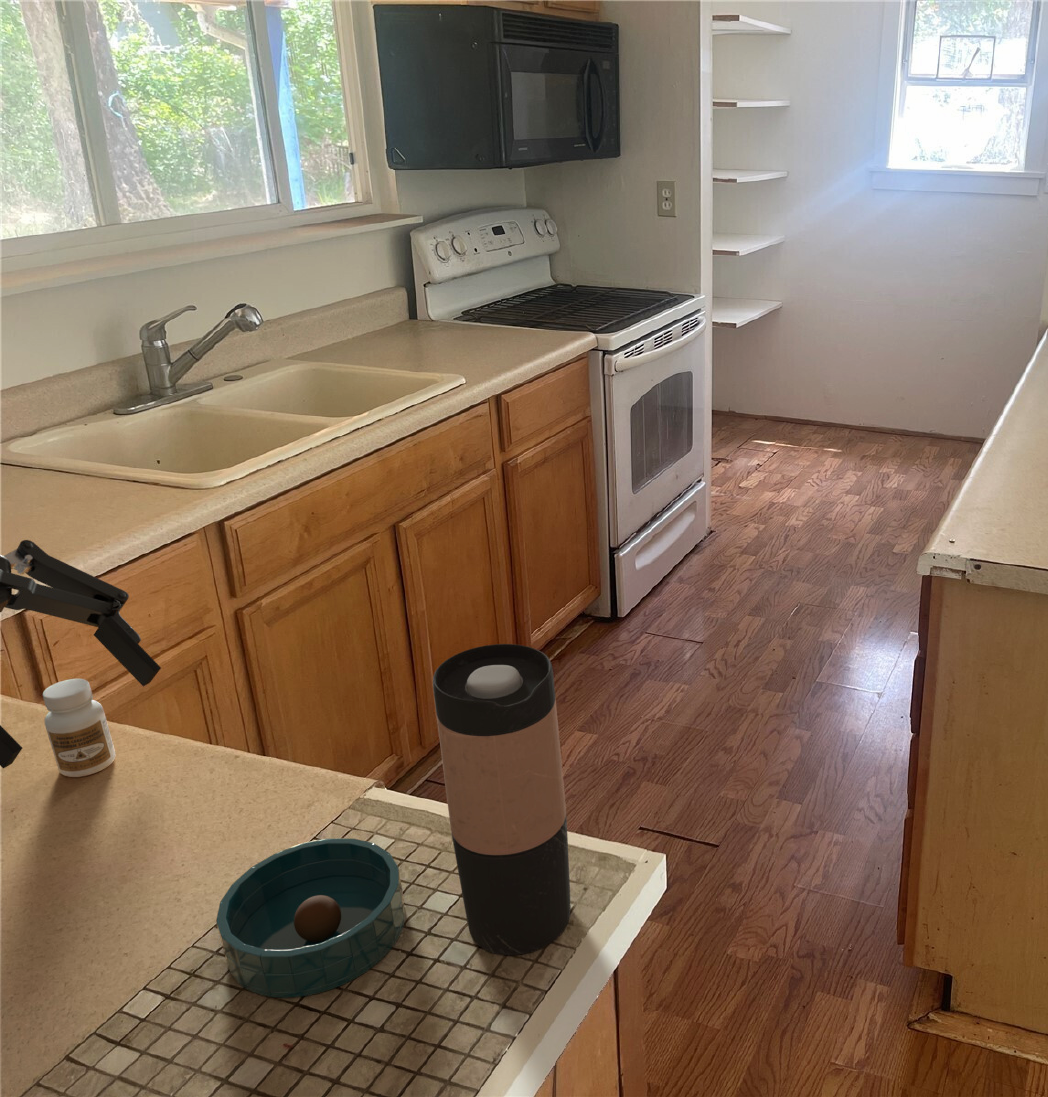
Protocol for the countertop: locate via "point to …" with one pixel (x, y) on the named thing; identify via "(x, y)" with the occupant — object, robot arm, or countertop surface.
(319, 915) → the brown ball
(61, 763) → the pill bottle
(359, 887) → the bowl
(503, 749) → the travel mug
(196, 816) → the countertop surface
